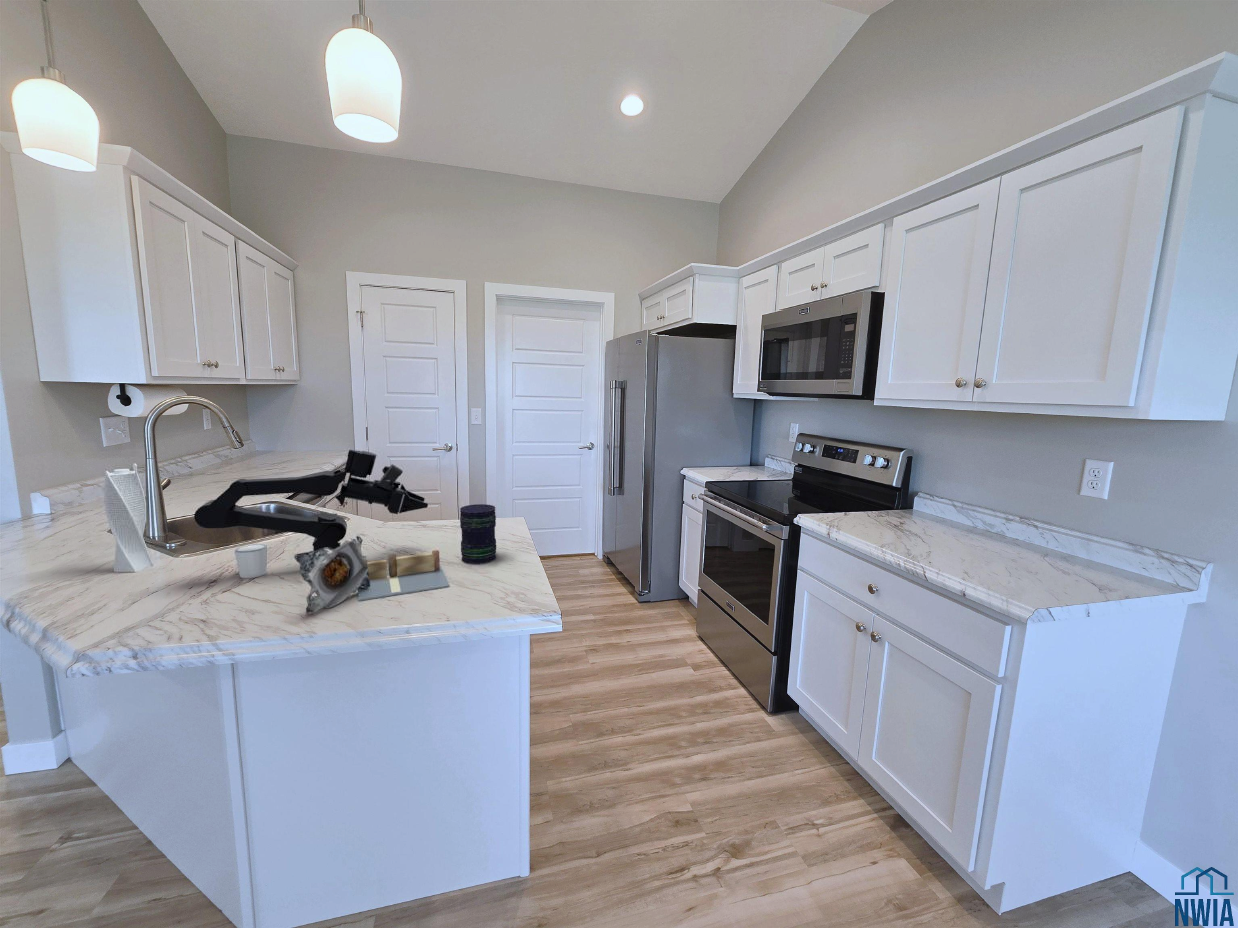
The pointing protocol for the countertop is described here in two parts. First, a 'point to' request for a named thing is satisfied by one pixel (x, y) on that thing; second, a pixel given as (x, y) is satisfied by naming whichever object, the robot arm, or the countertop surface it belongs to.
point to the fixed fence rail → (377, 569)
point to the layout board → (403, 584)
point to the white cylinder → (251, 560)
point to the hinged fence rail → (413, 563)
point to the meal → (333, 573)
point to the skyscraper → (127, 519)
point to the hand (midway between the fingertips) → (425, 502)
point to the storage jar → (478, 533)
